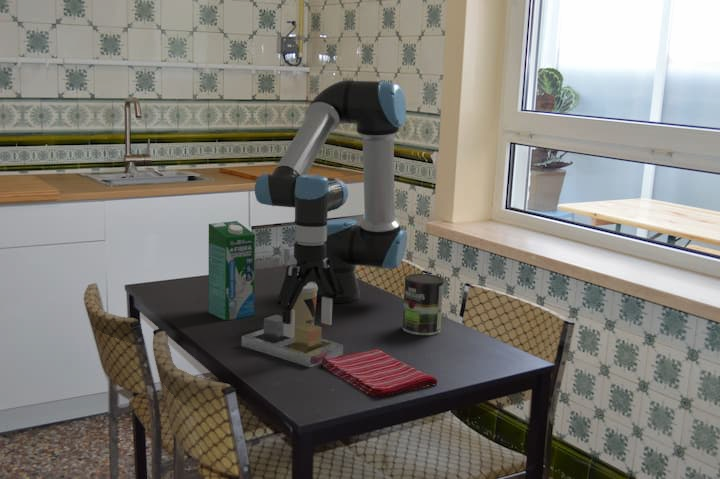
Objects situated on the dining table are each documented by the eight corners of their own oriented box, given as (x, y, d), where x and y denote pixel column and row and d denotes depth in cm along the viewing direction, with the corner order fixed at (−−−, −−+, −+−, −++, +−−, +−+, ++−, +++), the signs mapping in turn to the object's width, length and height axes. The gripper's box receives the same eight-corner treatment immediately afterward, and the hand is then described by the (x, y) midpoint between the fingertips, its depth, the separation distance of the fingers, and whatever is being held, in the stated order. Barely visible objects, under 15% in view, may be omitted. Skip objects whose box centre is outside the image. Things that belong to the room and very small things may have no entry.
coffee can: (424, 338, 216) (427, 285, 213) (394, 329, 223) (396, 277, 220) (448, 330, 223) (452, 278, 221) (418, 321, 230) (421, 271, 227)
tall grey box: (275, 341, 209) (276, 314, 208) (289, 345, 206) (290, 318, 205) (263, 345, 206) (263, 318, 204) (277, 350, 203) (277, 322, 202)
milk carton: (226, 320, 224) (226, 228, 219) (208, 312, 231) (208, 223, 226) (254, 315, 230) (255, 225, 225) (236, 307, 237) (236, 220, 232)
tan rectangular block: (307, 350, 203) (307, 323, 202) (320, 355, 200) (321, 327, 199) (294, 355, 200) (294, 327, 198) (308, 359, 197) (308, 331, 196)
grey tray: (275, 334, 214) (275, 325, 214) (342, 354, 201) (343, 344, 201) (241, 345, 205) (241, 336, 204) (310, 367, 192) (310, 357, 191)
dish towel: (376, 402, 175) (376, 390, 174) (317, 366, 194) (318, 355, 194) (440, 387, 184) (440, 376, 184) (378, 355, 204) (379, 344, 203)
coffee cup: (311, 335, 215) (312, 290, 212) (276, 332, 216) (277, 287, 214) (320, 325, 224) (321, 281, 221) (286, 321, 225) (287, 278, 223)
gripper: (331, 232, 207) (329, 315, 211) (261, 247, 187) (259, 338, 191) (355, 237, 202) (352, 321, 207) (286, 252, 183) (284, 345, 187)
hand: (308, 330), depth 199 cm, fingers open, 13 cm apart
